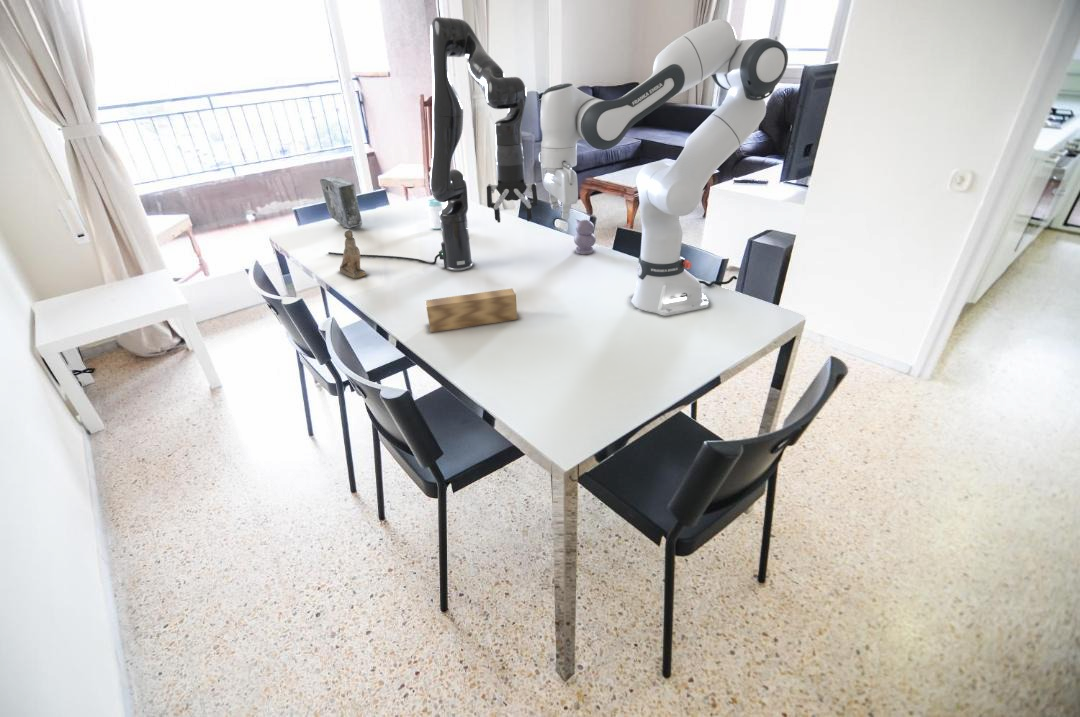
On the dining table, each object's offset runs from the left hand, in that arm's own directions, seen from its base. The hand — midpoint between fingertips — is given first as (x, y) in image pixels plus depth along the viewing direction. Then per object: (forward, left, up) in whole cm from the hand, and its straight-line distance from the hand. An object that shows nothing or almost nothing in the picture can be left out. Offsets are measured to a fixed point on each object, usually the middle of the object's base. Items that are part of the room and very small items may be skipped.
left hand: (513, 221), depth 143 cm
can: (-58, +66, -24) cm, 91 cm away
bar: (-8, -18, -24) cm, 31 cm away
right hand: (+15, -7, +5) cm, 18 cm away
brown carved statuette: (-65, +9, -24) cm, 70 cm away
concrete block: (-103, +62, -24) cm, 122 cm away
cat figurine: (+12, +45, -24) cm, 53 cm away
